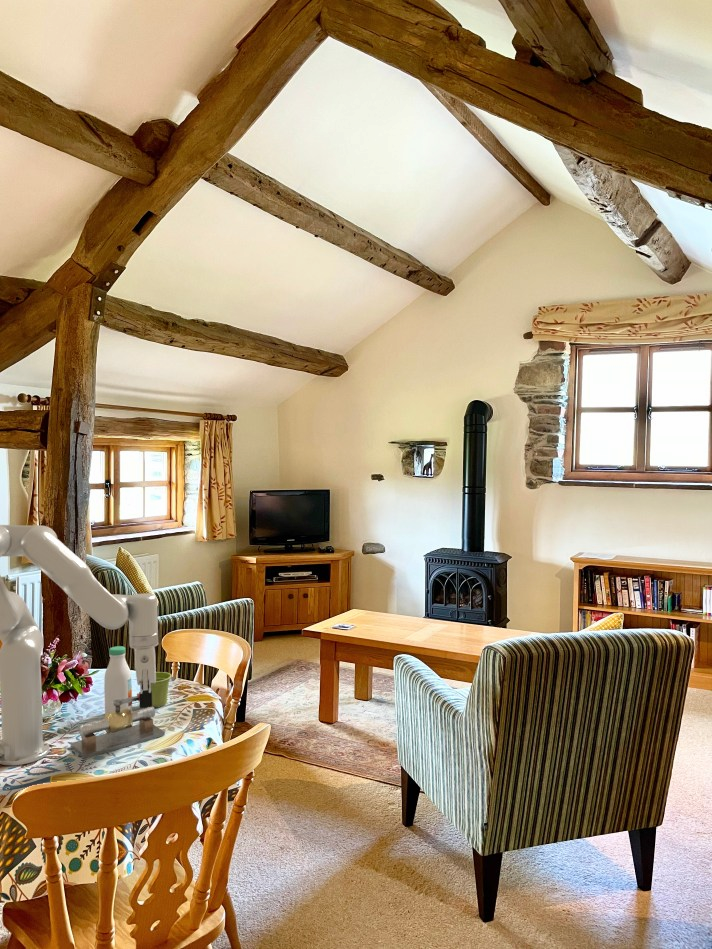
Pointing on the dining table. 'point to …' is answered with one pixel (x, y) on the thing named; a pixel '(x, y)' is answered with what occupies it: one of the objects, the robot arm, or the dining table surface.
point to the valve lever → (126, 700)
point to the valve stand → (116, 732)
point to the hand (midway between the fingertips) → (145, 706)
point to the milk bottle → (117, 680)
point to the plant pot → (160, 689)
